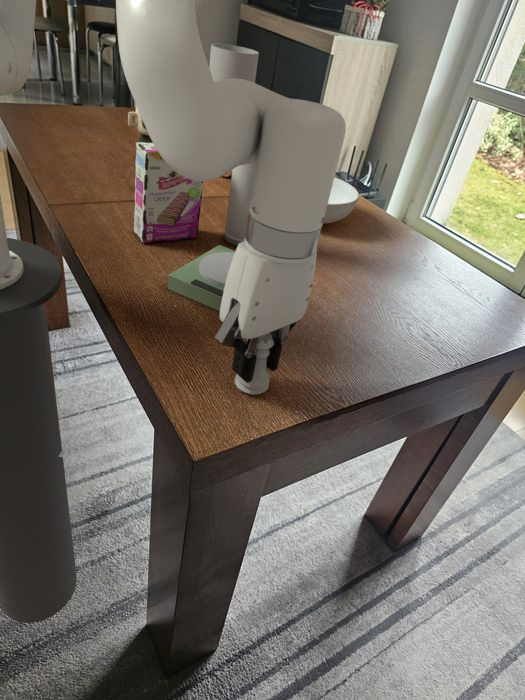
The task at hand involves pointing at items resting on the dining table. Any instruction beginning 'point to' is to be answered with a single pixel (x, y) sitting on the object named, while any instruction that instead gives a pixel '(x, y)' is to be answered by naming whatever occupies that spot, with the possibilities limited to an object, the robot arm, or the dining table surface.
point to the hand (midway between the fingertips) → (254, 369)
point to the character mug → (139, 126)
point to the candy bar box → (163, 199)
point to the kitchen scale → (204, 277)
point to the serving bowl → (340, 201)
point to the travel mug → (239, 203)
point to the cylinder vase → (233, 62)
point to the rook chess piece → (258, 368)
